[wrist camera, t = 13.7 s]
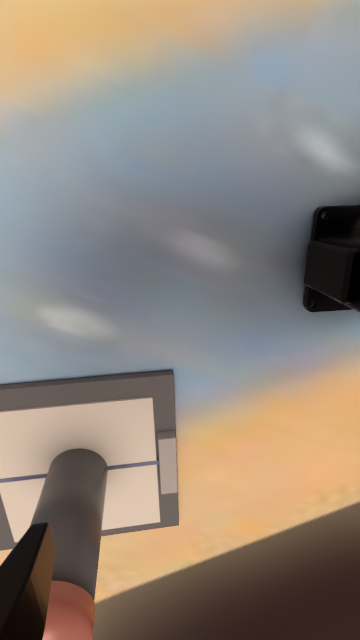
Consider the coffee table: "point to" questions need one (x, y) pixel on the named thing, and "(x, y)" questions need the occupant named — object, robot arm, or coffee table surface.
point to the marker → (73, 540)
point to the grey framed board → (91, 447)
